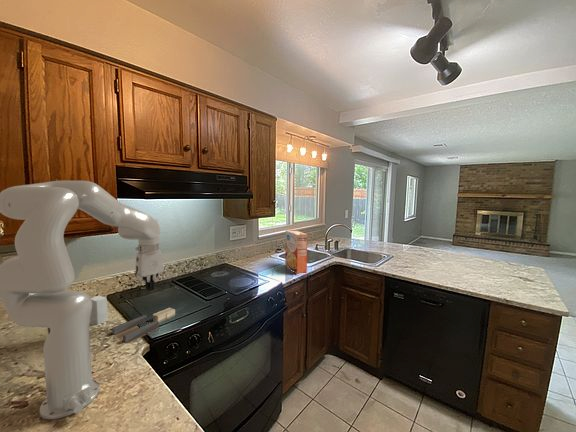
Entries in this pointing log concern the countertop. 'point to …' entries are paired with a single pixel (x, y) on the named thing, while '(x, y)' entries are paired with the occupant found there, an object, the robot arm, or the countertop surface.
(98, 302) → the skincare box
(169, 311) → the beige cube
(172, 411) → the countertop surface
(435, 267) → the countertop surface
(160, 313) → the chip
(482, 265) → the countertop surface
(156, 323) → the slot block
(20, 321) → the robot arm
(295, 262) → the pasta box
